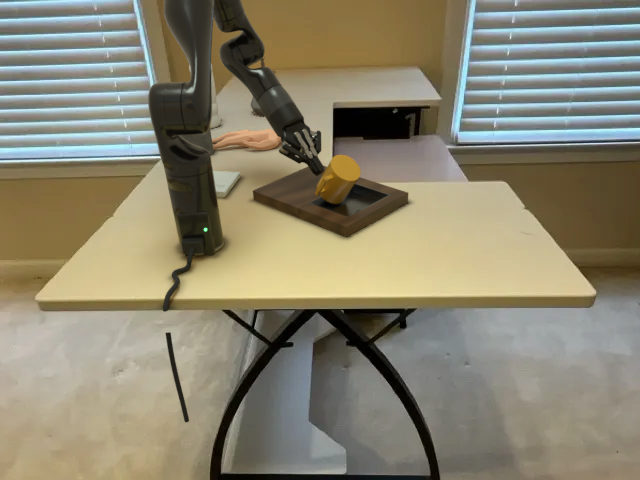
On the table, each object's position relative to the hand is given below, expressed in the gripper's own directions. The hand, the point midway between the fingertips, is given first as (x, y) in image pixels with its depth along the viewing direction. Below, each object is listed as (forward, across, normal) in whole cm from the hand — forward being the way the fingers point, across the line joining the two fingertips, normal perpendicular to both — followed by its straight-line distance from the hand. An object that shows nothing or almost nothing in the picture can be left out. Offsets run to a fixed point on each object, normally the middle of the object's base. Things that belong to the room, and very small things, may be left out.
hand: (320, 173), depth 141 cm
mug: (+5, -1, 0) cm, 5 cm away
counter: (+6, 0, +3) cm, 7 cm away
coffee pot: (-41, +42, +50) cm, 77 cm away
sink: (+11, 0, -2) cm, 11 cm away
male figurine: (-24, +14, +34) cm, 44 cm away
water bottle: (-42, +18, +51) cm, 69 cm away
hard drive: (-14, -11, +23) cm, 29 cm away
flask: (-31, -2, +40) cm, 51 cm away
